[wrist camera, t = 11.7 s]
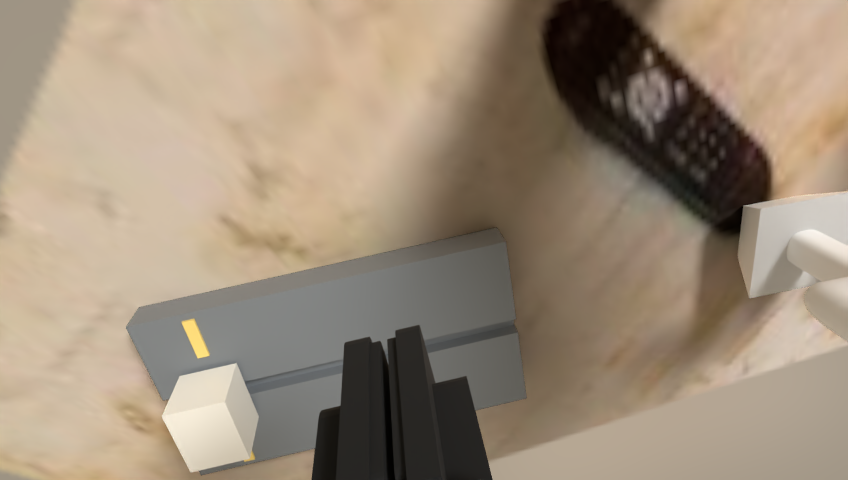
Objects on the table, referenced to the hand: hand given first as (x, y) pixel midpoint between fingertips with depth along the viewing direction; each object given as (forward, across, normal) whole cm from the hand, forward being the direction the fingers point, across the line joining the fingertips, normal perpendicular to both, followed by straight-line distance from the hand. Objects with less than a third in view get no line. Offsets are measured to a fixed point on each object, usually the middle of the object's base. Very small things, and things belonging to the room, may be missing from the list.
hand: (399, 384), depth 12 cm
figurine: (+26, -27, +16) cm, 41 cm away
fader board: (+25, +7, +16) cm, 31 cm away
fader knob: (+23, +16, +16) cm, 32 cm away
